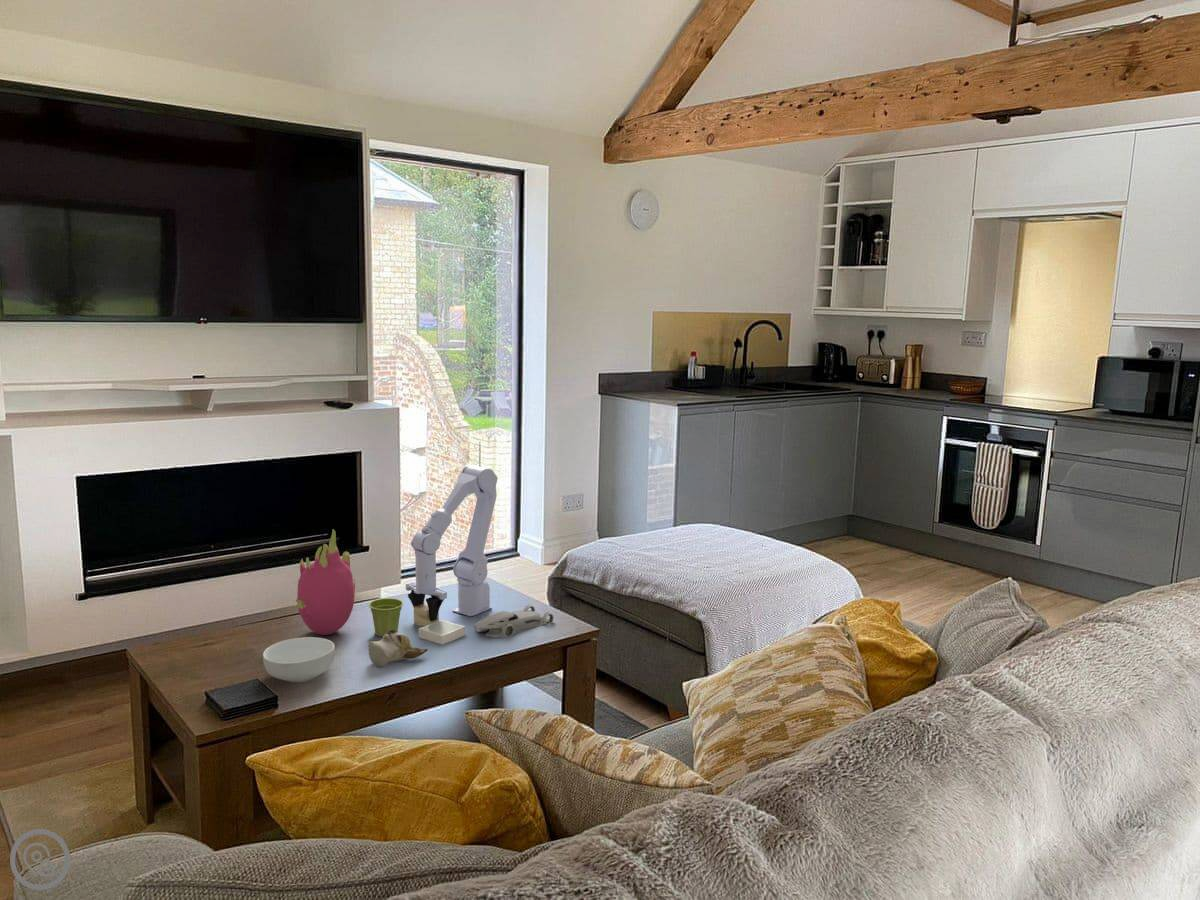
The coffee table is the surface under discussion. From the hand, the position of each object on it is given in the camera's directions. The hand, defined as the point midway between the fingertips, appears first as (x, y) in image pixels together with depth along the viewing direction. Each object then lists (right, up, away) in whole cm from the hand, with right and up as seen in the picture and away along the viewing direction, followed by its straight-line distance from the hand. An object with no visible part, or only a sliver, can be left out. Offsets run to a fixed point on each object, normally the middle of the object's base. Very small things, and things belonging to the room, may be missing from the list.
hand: (426, 618), depth 260 cm
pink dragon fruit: (-26, -3, -9) cm, 28 cm away
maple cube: (0, -1, 0) cm, 1 cm away
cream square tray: (+6, -3, -10) cm, 12 cm away
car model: (+25, -3, -1) cm, 25 cm away
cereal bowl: (-24, -7, -38) cm, 46 cm away
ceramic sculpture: (-3, -6, -27) cm, 28 cm away
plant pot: (-9, -3, -8) cm, 13 cm away
